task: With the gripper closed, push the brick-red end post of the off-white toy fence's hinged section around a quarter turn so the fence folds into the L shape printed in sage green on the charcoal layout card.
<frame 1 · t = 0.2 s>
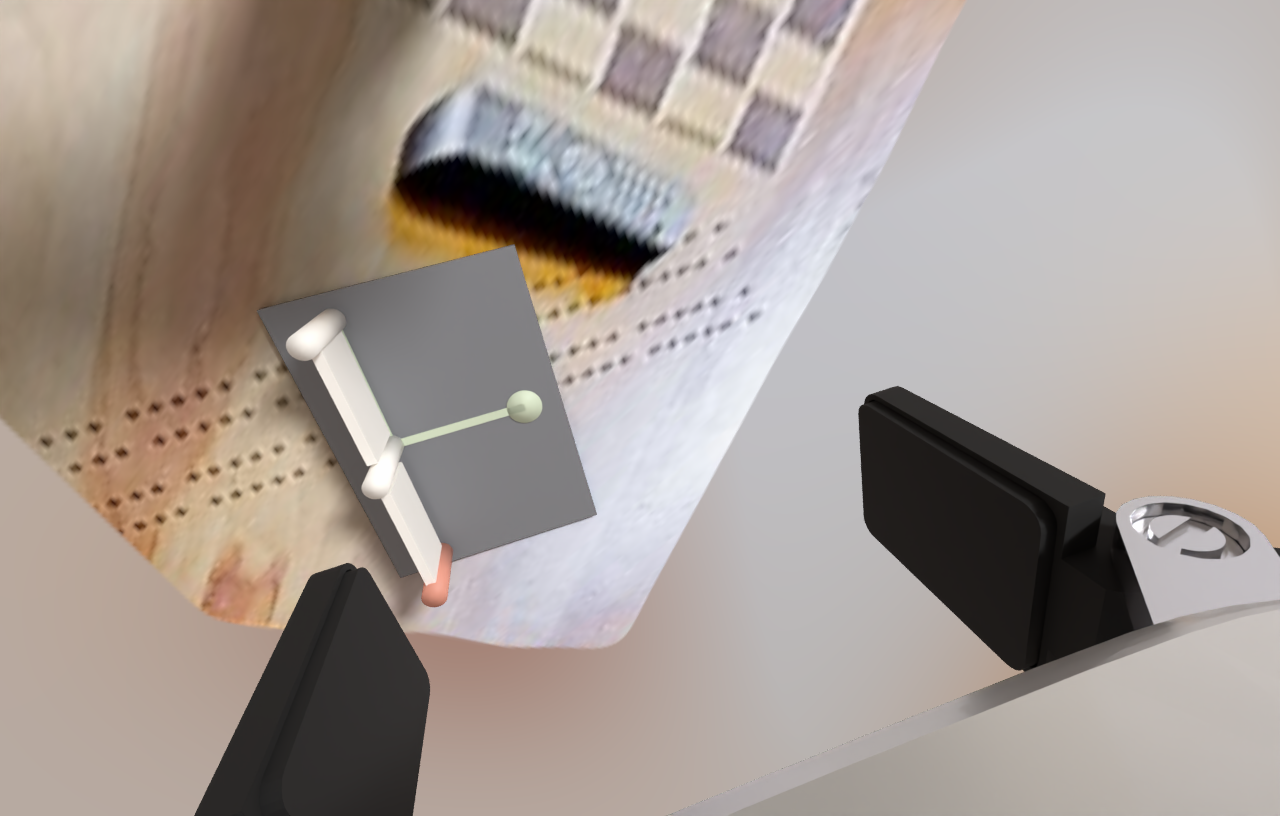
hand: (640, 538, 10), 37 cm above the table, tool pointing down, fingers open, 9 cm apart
fence swing section: (418, 533, 45), point 4 cm above the table, hinge at 0.0°
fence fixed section: (392, 445, 45), resting on layout card
layout card: (452, 424, 46), on the table
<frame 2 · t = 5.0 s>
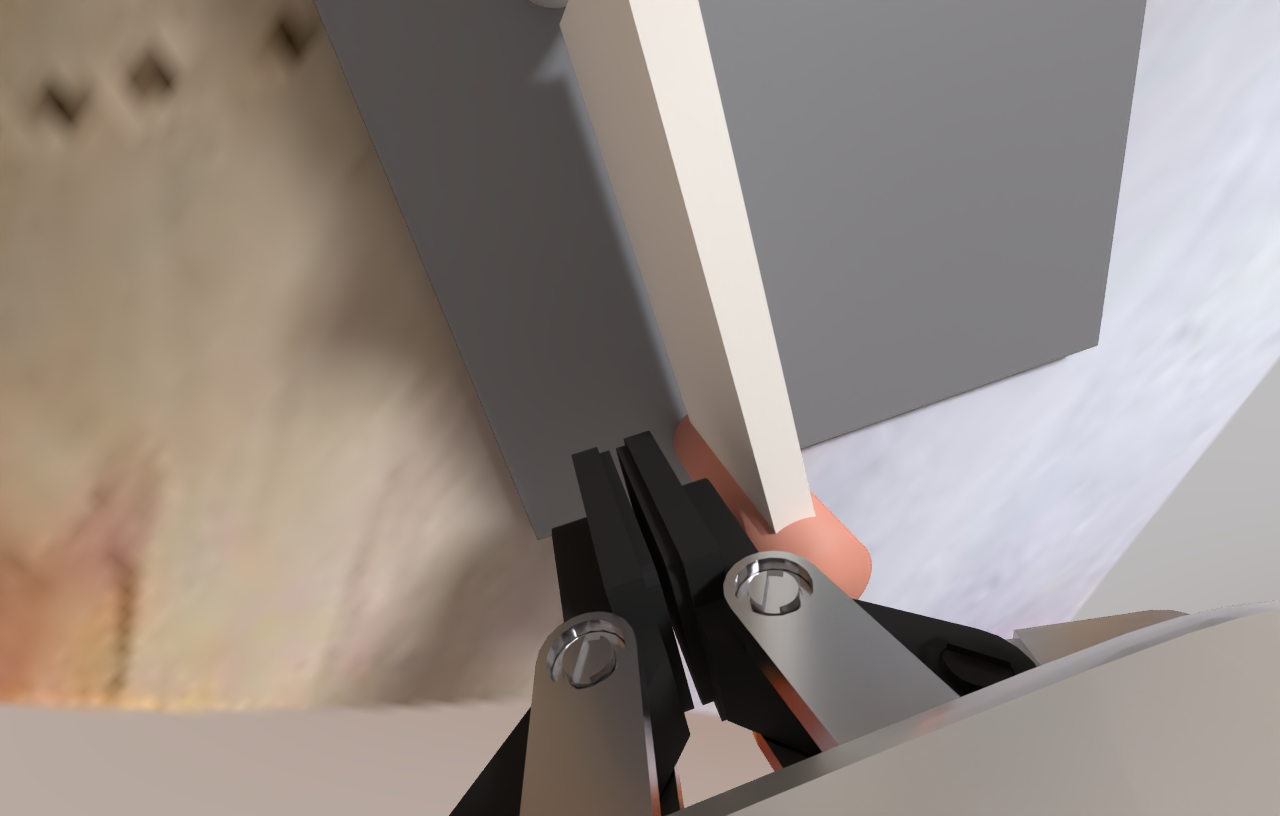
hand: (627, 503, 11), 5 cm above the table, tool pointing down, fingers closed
fence swing section: (700, 313, 10), point 4 cm above the table, hinge at 4.8°, touching gripper
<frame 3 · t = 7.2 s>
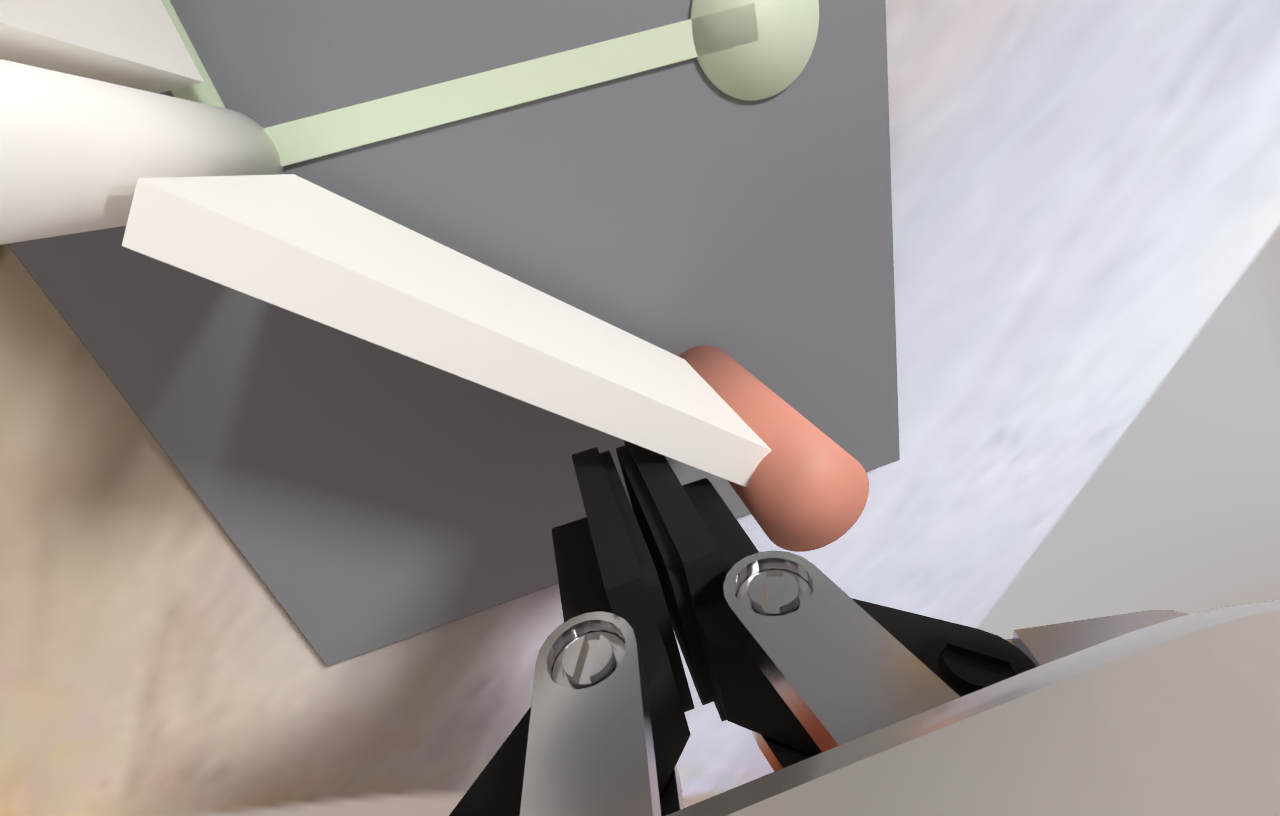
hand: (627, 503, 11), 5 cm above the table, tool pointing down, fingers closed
fence swing section: (559, 346, 10), point 4 cm above the table, hinge at 47.3°, touching gripper
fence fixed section: (231, 159, 11), resting on layout card
layout card: (477, 98, 12), on the table
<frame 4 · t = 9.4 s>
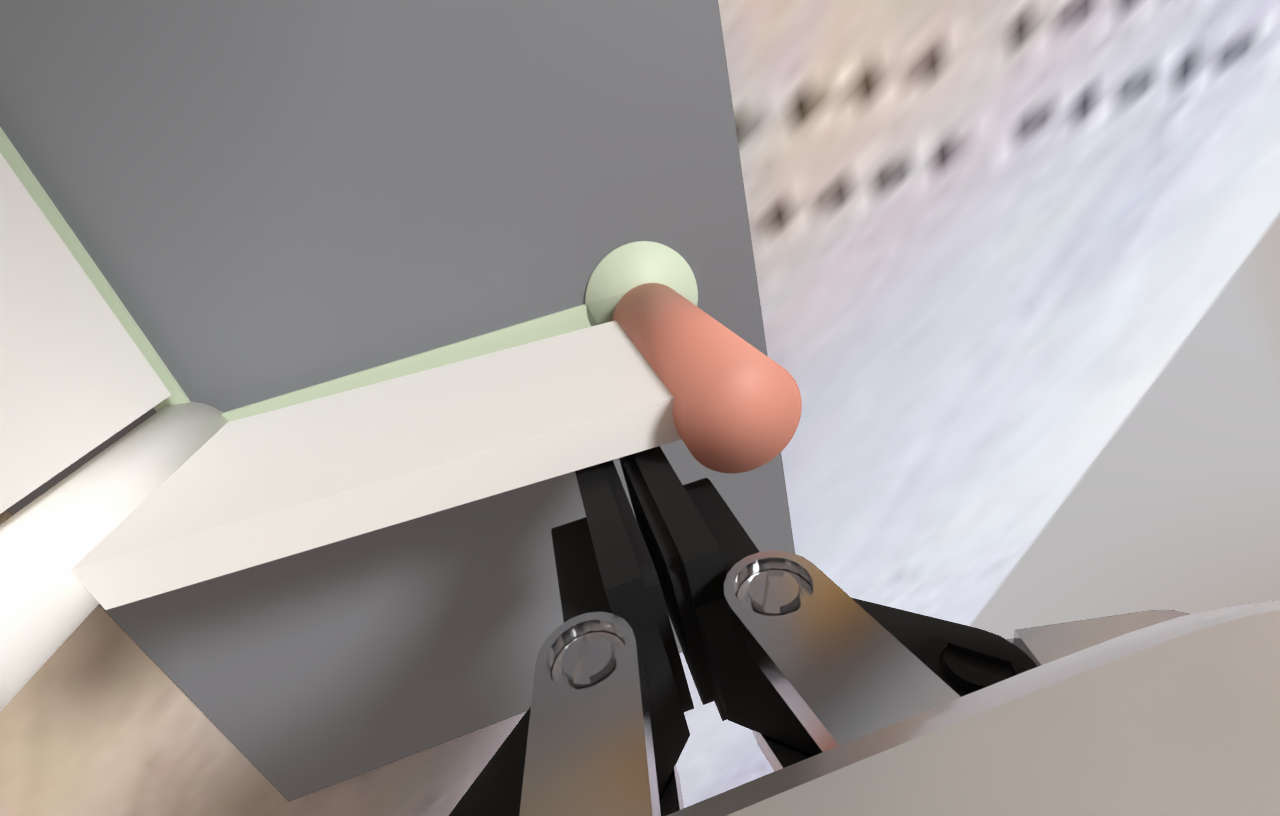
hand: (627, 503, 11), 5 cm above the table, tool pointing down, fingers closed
fence swing section: (471, 418, 11), point 4 cm above the table, hinge at 87.7°, touching gripper
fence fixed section: (196, 435, 13), resting on layout card
layout card: (407, 365, 14), on the table
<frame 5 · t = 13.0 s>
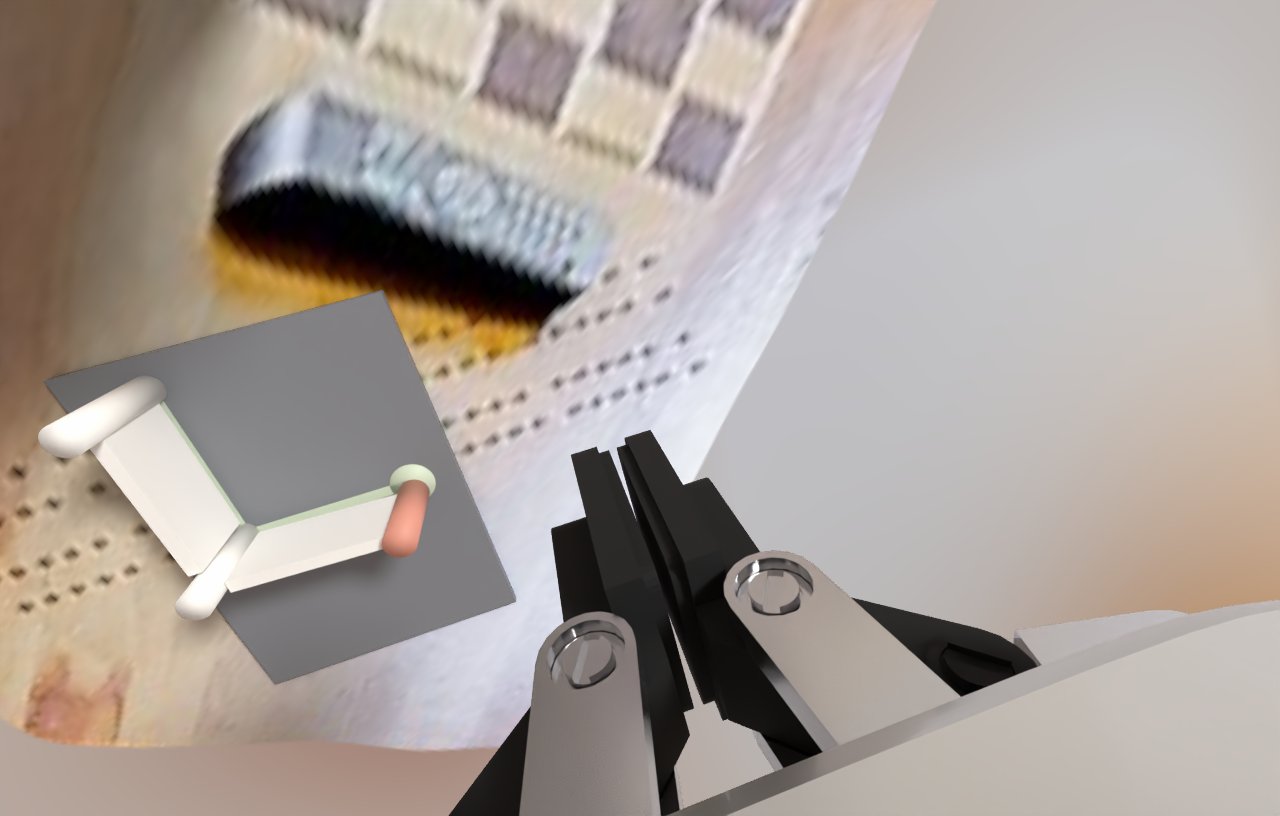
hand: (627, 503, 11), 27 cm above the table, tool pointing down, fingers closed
fence swing section: (336, 536, 34), point 4 cm above the table, hinge at 87.7°
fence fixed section: (246, 534, 37), resting on layout card
layout card: (324, 506, 38), on the table
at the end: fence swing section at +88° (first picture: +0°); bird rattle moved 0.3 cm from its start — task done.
